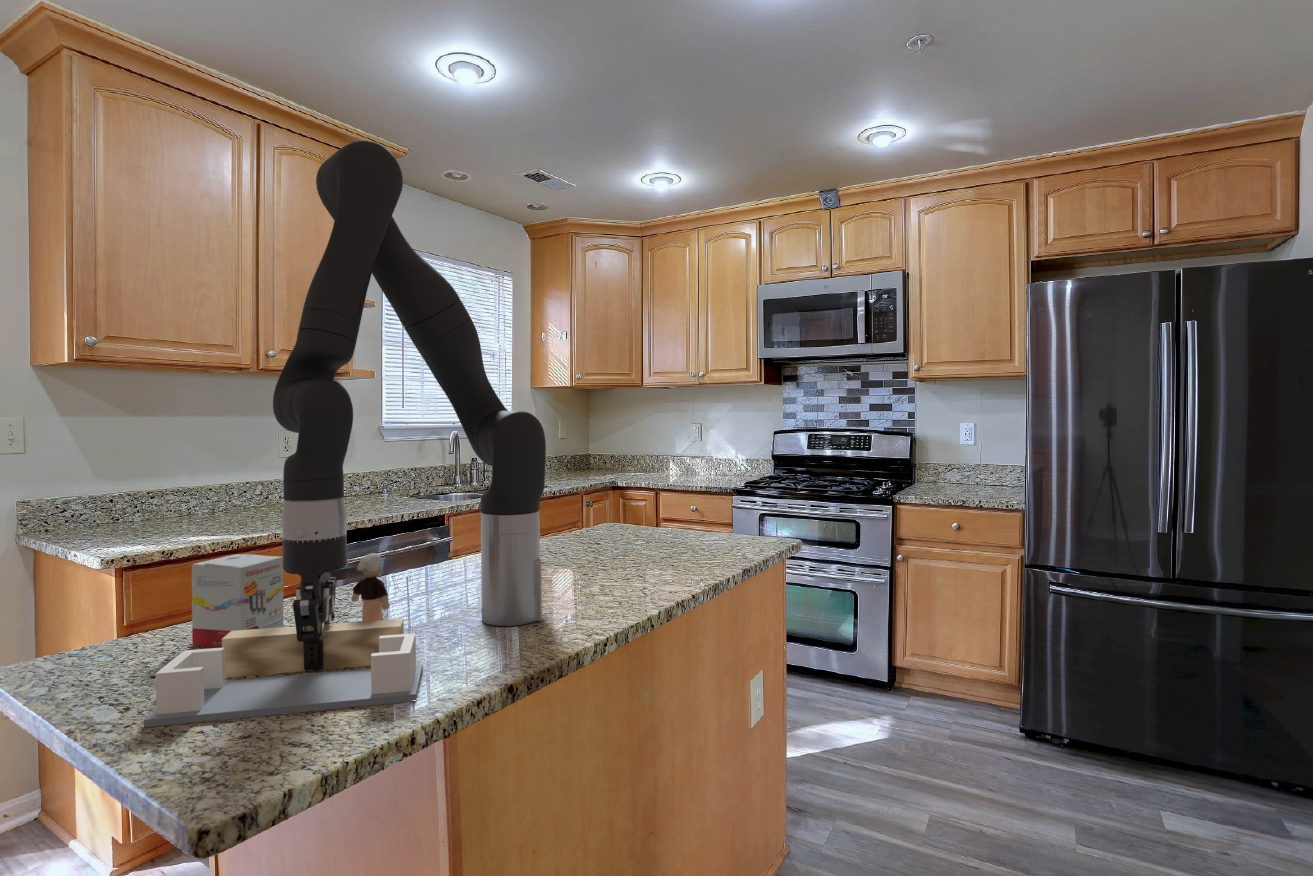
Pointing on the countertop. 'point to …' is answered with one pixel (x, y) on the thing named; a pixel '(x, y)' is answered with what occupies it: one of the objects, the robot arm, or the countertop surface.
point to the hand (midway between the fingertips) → (317, 663)
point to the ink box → (235, 596)
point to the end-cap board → (280, 686)
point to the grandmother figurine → (371, 589)
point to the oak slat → (286, 654)
